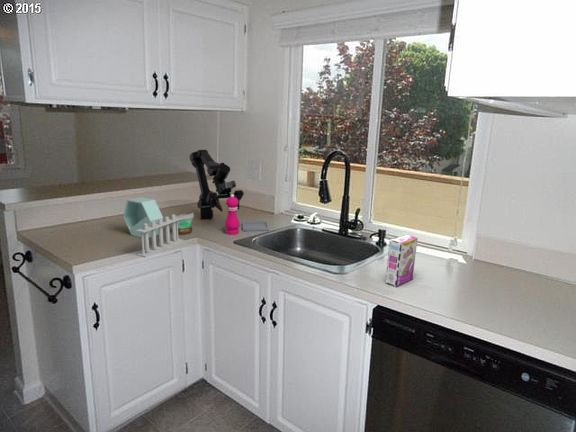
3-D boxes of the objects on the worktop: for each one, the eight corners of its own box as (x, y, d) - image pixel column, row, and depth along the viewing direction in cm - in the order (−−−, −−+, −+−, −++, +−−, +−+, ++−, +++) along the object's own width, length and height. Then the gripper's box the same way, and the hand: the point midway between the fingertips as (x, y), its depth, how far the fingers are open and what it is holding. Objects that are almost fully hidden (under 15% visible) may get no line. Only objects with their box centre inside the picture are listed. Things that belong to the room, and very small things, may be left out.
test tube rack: (145, 257, 161) (143, 226, 157) (136, 256, 162) (134, 225, 159) (183, 241, 183) (182, 213, 180) (175, 239, 185) (174, 212, 181)
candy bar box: (396, 287, 137) (401, 243, 133) (384, 283, 141) (388, 239, 137) (413, 279, 145) (418, 237, 141) (401, 275, 148) (405, 234, 144)
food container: (176, 237, 188) (175, 216, 186) (170, 234, 193) (169, 214, 190) (199, 232, 196) (198, 213, 194) (193, 230, 201) (192, 211, 198)
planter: (136, 245, 189) (117, 207, 190) (149, 241, 196) (131, 204, 197) (155, 231, 180) (136, 191, 181) (168, 227, 186) (149, 189, 188)
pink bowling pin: (242, 232, 199) (242, 193, 194) (234, 236, 192) (234, 196, 187) (230, 230, 202) (230, 192, 197) (222, 234, 195) (221, 194, 190)
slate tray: (242, 231, 201) (242, 227, 200) (242, 224, 213) (242, 221, 213) (268, 231, 202) (268, 227, 202) (267, 224, 215) (267, 221, 214)
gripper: (207, 176, 191) (217, 202, 185) (242, 174, 201) (252, 199, 195) (202, 190, 200) (211, 215, 193) (235, 187, 210) (245, 211, 203)
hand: (230, 210), depth 196 cm, fingers open, 9 cm apart
